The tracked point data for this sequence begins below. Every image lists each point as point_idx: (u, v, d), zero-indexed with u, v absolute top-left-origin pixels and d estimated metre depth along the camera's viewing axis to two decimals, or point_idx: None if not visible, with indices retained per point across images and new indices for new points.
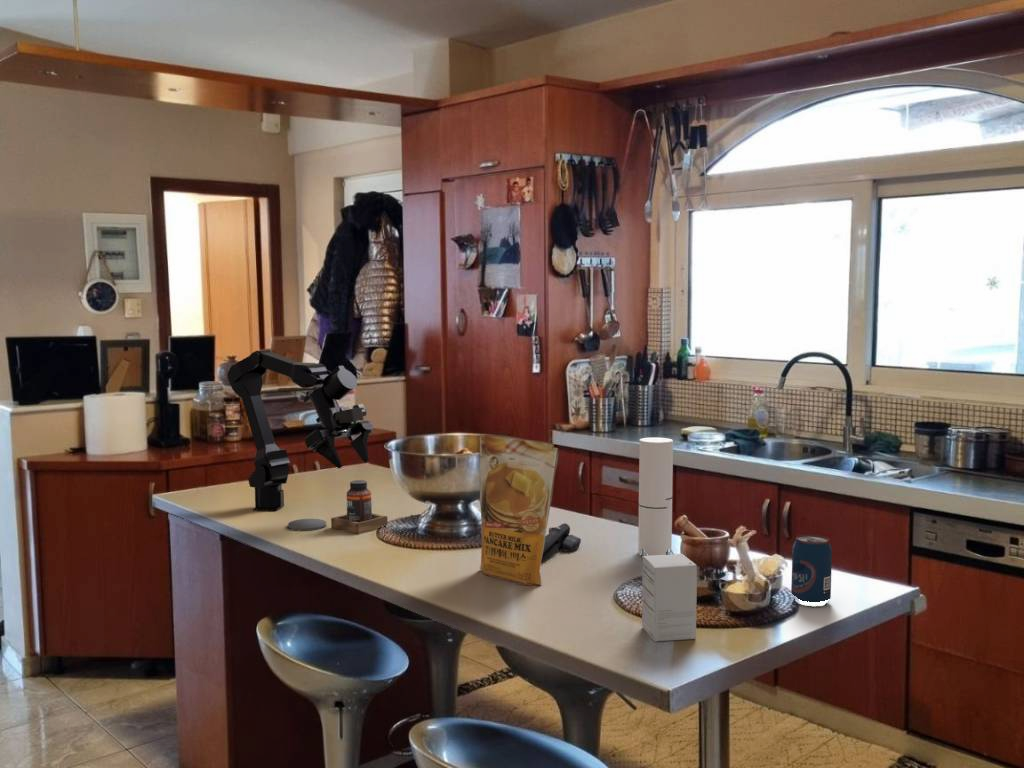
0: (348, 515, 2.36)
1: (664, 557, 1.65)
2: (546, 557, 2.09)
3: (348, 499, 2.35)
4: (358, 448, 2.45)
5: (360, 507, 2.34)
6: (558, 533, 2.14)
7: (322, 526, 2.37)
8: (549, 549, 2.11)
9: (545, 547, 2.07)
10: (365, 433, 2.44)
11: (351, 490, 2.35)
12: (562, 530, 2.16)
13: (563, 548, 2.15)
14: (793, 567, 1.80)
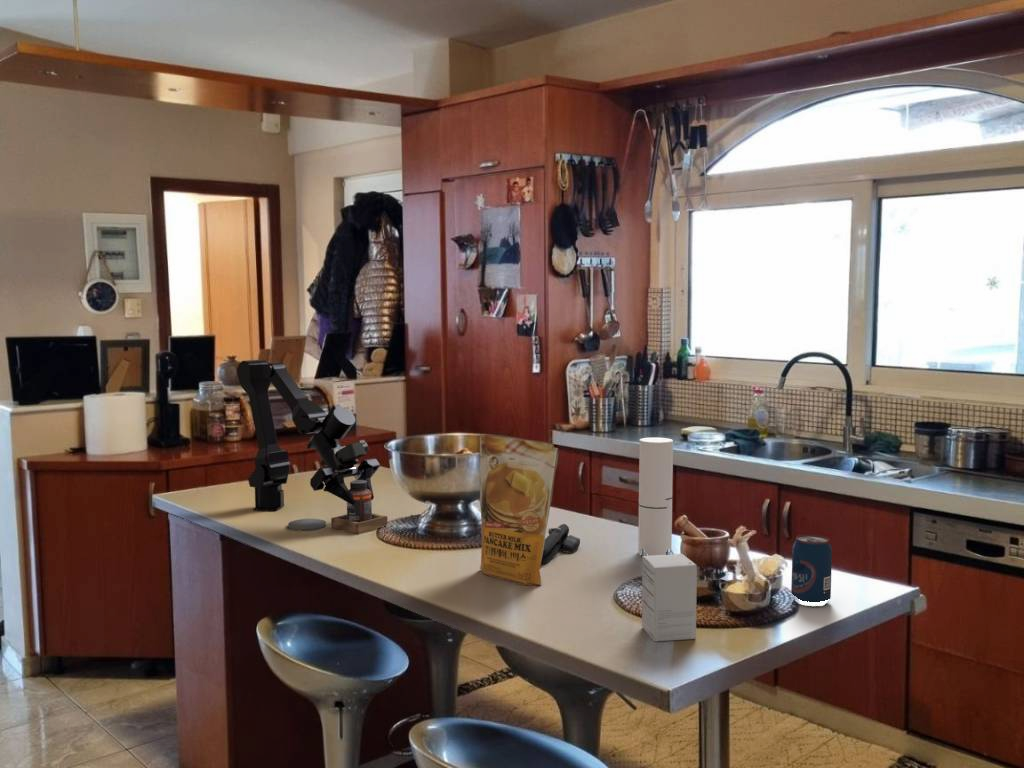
0: (348, 515, 2.36)
1: (664, 557, 1.65)
2: (549, 558, 2.08)
3: None
4: None
5: (360, 506, 2.34)
6: (559, 534, 2.13)
7: (322, 526, 2.37)
8: (551, 550, 2.10)
9: (548, 548, 2.06)
10: (367, 470, 2.40)
11: (351, 490, 2.35)
12: (562, 531, 2.15)
13: (564, 549, 2.14)
14: (793, 567, 1.80)
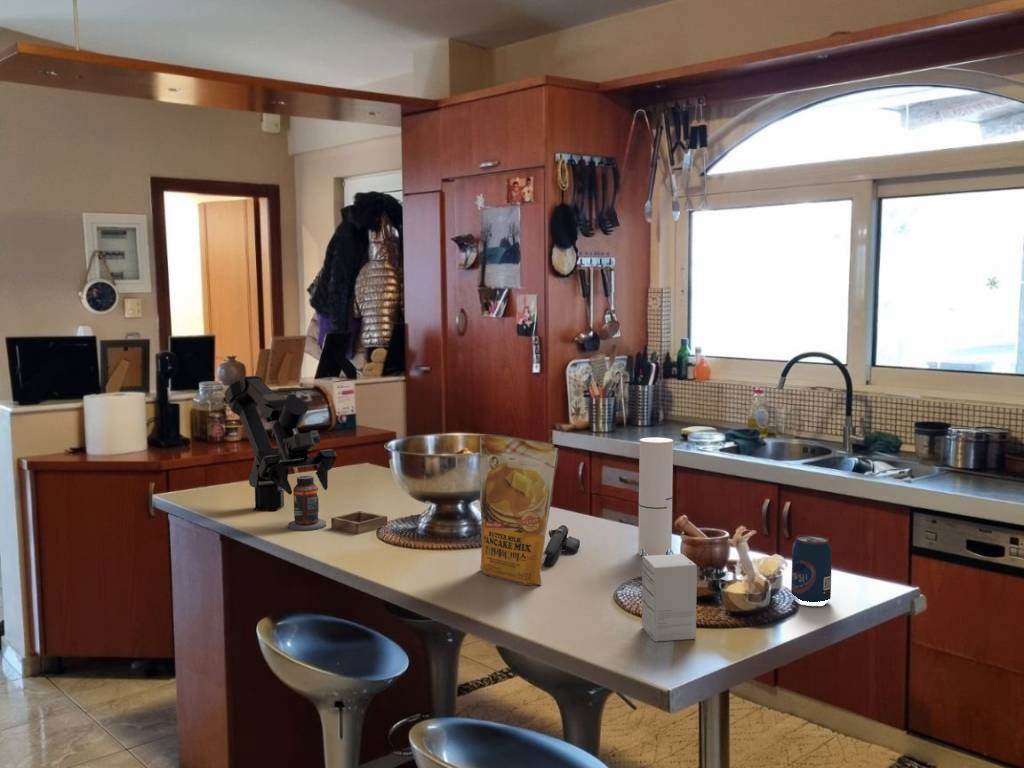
0: (294, 510, 2.38)
1: (664, 557, 1.65)
2: (554, 560, 2.06)
3: (293, 494, 2.37)
4: (320, 476, 2.42)
5: (303, 502, 2.36)
6: (562, 535, 2.12)
7: (322, 526, 2.37)
8: (555, 552, 2.09)
9: (555, 550, 2.05)
10: (324, 460, 2.42)
11: (297, 485, 2.37)
12: (564, 532, 2.14)
13: (566, 550, 2.13)
14: (793, 567, 1.80)
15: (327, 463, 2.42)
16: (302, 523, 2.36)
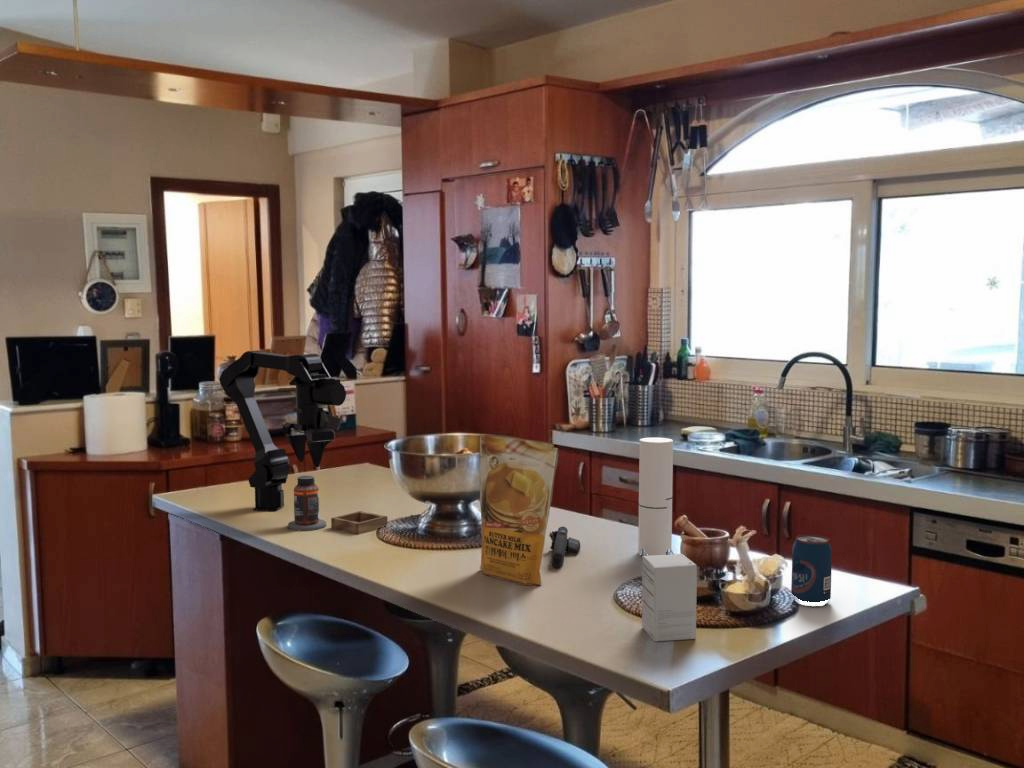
0: (294, 510, 2.38)
1: (664, 557, 1.65)
2: (562, 562, 2.05)
3: (294, 494, 2.37)
4: (298, 445, 2.53)
5: (304, 502, 2.36)
6: (565, 536, 2.11)
7: (322, 526, 2.37)
8: None
9: (563, 551, 2.03)
10: None
11: (297, 485, 2.37)
12: (566, 533, 2.13)
13: (569, 551, 2.12)
14: (793, 567, 1.80)
15: None
16: (302, 523, 2.36)
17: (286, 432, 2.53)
